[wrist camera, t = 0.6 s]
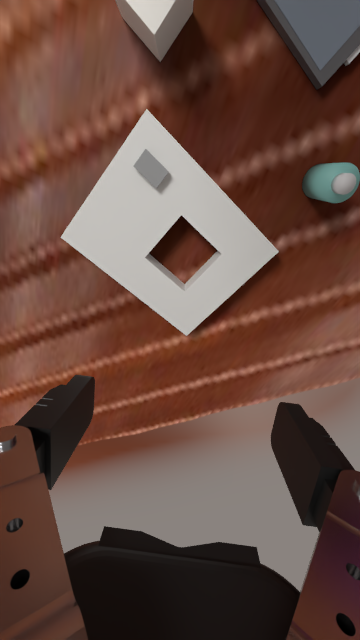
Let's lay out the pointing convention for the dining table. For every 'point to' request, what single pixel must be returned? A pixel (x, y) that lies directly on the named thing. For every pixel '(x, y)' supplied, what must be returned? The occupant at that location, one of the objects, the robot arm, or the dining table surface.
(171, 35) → the block
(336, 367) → the dining table surface
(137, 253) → the board
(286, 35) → the phone
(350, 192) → the teal rounded cylinder
